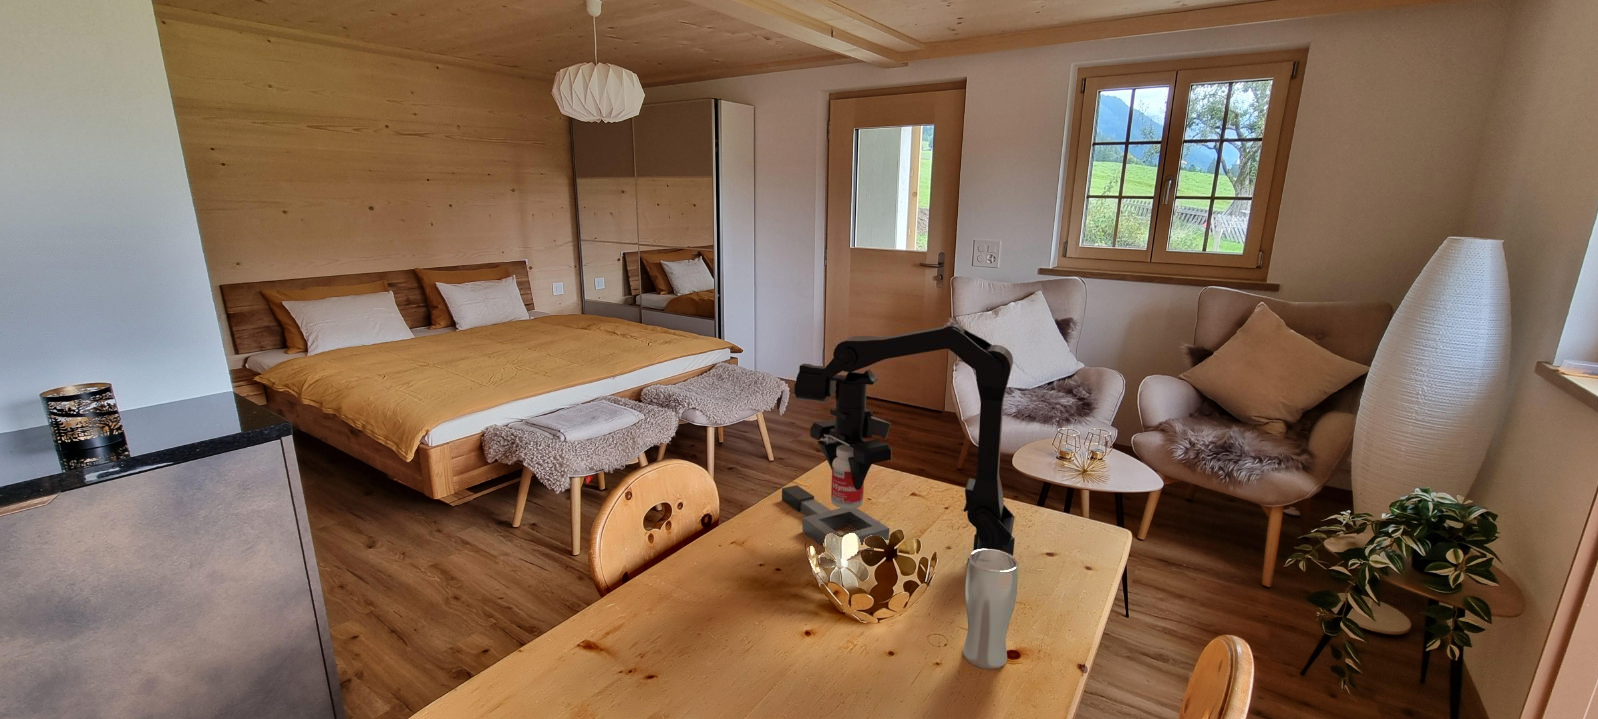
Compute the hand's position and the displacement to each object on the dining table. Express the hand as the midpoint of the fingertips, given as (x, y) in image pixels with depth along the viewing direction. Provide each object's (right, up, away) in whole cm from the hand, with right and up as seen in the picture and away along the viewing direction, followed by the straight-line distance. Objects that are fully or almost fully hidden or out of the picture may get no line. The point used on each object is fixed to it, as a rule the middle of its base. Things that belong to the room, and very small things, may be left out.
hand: (847, 483), depth 132 cm
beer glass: (+17, -19, -33) cm, 42 cm away
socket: (-4, -9, +9) cm, 13 cm away
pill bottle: (0, -4, +1) cm, 4 cm away
